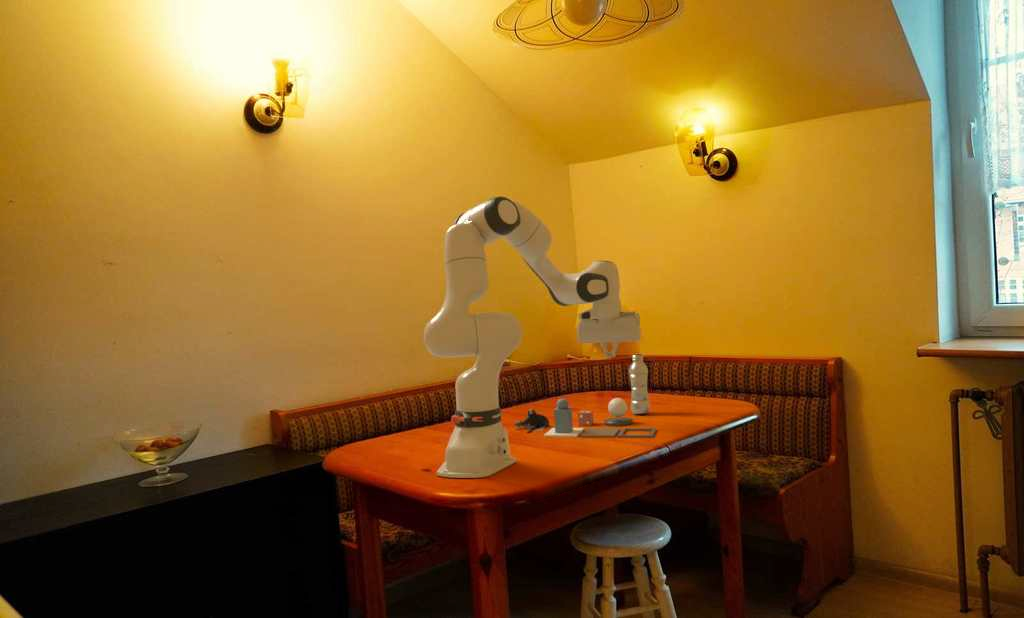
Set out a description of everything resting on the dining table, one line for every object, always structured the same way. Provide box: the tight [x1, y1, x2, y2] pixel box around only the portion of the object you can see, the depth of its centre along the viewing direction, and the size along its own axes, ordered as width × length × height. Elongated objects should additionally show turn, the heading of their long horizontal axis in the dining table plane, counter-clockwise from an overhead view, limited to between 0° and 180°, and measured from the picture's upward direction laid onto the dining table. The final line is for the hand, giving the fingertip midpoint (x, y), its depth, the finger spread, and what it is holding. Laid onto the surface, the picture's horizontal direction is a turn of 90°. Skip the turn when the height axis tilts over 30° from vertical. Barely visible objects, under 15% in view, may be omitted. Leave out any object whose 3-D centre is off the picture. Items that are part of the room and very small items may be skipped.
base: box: [603, 416, 634, 427], centre depth 226 cm, size 9×9×1 cm
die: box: [577, 410, 595, 427], centre depth 227 cm, size 4×4×4 cm
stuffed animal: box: [513, 408, 550, 434], centre depth 228 cm, size 12×10×12 cm
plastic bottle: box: [628, 353, 651, 416], centre depth 239 cm, size 6×7×20 cm
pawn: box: [553, 397, 574, 433], centre depth 216 cm, size 4×4×10 cm
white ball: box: [607, 397, 628, 418], centre depth 226 cm, size 6×6×6 cm
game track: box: [543, 427, 657, 439], centre depth 213 cm, size 10×32×1 cm, turn 72°
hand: (610, 356), depth 223 cm, fingers closed
